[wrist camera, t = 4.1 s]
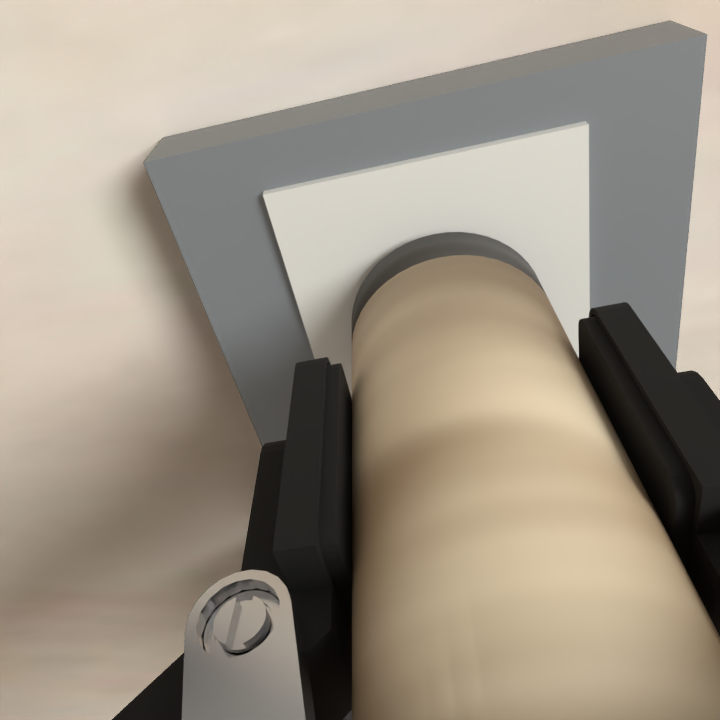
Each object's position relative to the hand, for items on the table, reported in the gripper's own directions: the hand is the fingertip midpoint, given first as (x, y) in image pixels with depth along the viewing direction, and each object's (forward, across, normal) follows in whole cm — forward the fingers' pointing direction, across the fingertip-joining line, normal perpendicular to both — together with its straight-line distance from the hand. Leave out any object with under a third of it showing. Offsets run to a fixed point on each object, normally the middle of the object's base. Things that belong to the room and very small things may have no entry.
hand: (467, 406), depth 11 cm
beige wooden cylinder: (+3, 0, 0) cm, 3 cm away
